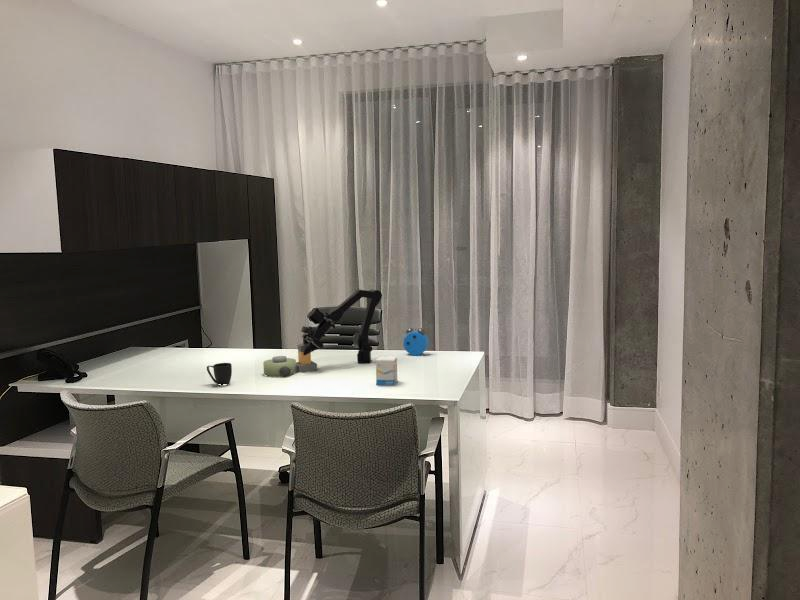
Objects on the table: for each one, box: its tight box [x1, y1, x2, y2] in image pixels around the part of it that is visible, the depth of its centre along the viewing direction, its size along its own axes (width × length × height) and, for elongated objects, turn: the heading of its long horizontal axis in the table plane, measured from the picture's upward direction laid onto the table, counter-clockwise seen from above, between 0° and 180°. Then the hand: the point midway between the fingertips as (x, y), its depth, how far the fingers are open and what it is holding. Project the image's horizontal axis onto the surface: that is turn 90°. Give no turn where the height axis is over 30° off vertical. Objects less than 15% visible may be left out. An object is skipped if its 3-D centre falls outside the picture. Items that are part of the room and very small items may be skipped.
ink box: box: [375, 355, 398, 386], centre depth 297 cm, size 9×8×12 cm
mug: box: [206, 362, 233, 385], centre depth 305 cm, size 8×12×10 cm
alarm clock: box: [402, 327, 429, 356], centre depth 360 cm, size 13×6×15 cm, turn 74°
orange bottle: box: [297, 343, 312, 365], centre depth 330 cm, size 5×5×13 cm
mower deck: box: [262, 355, 318, 378], centre depth 327 cm, size 26×20×8 cm
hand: (301, 353), depth 329 cm, fingers open, 6 cm apart
